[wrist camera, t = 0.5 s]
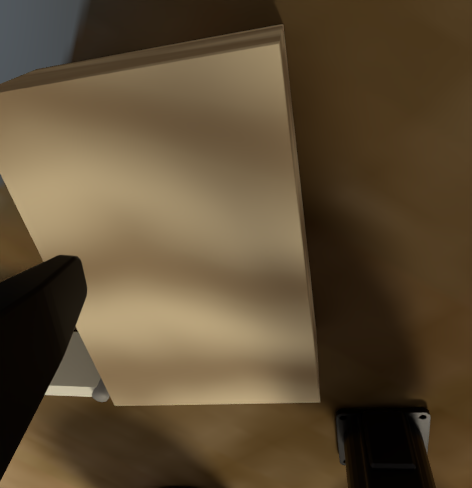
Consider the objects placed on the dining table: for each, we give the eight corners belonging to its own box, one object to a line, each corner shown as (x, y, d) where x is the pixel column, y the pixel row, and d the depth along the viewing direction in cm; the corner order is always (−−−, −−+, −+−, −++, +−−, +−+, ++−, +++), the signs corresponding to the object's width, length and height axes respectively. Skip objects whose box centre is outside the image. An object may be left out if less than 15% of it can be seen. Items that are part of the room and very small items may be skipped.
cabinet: (316, 329, 28) (320, 402, 23) (142, 338, 30) (114, 405, 26) (283, 23, 19) (278, 43, 14) (37, 69, 21) (-37, 98, 16)
